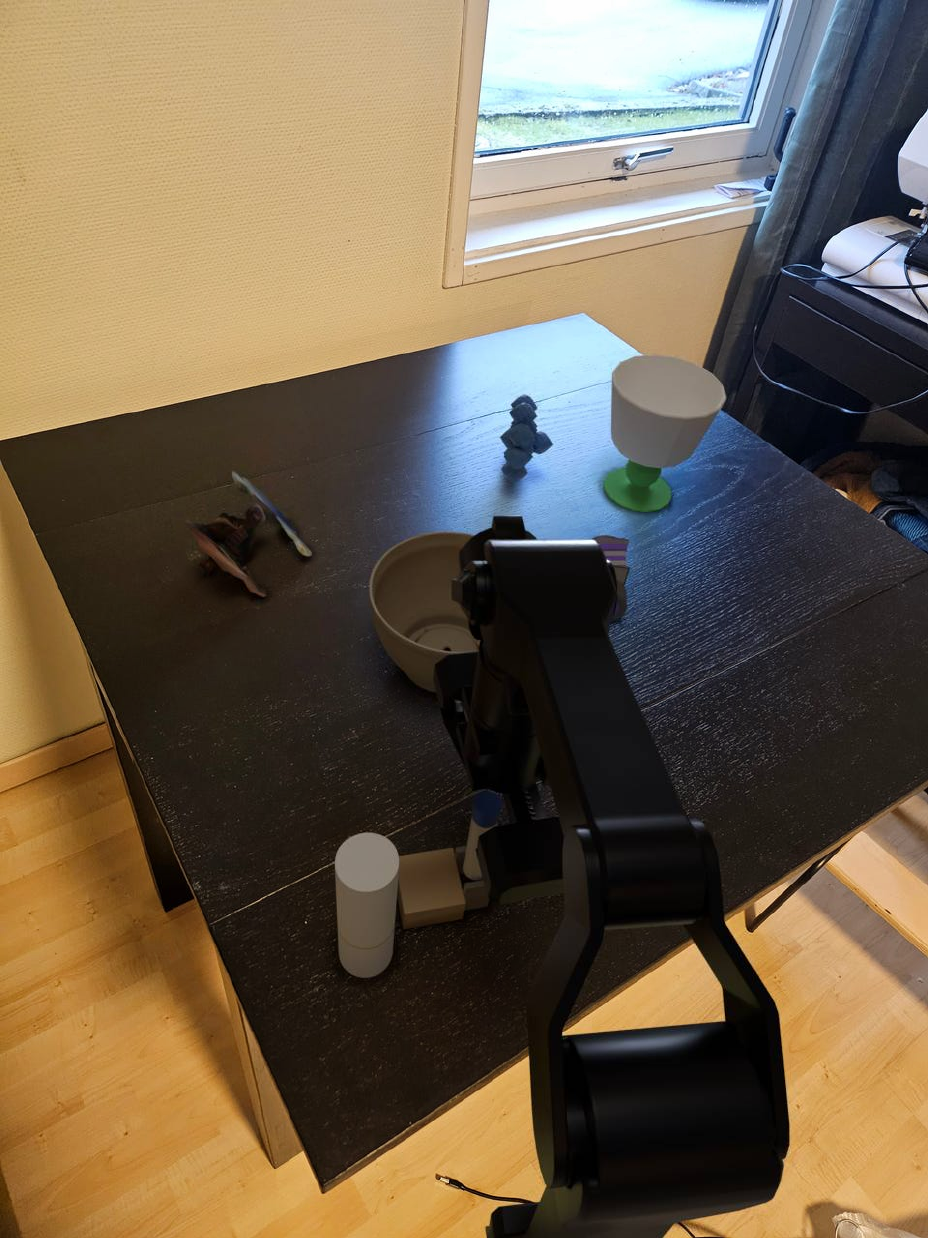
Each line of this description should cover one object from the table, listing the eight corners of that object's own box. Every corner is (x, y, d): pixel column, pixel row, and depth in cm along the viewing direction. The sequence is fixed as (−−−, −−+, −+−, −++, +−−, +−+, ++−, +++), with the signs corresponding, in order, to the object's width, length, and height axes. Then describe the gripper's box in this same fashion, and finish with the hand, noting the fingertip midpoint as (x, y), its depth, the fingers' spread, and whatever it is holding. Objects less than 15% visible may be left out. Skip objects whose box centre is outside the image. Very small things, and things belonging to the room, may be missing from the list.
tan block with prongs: (489, 914, 71) (495, 891, 68) (403, 930, 70) (405, 907, 67) (475, 859, 74) (481, 835, 71) (393, 873, 73) (394, 849, 70)
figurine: (311, 556, 105) (231, 486, 102) (343, 519, 98) (258, 444, 96) (241, 633, 94) (150, 556, 92) (272, 597, 88) (175, 514, 86)
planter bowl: (339, 685, 86) (337, 611, 78) (411, 586, 97) (416, 512, 89) (485, 748, 83) (498, 677, 75) (543, 637, 93) (561, 565, 85)
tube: (368, 989, 66) (369, 904, 55) (327, 954, 68) (321, 865, 57) (403, 946, 69) (412, 857, 58) (363, 914, 70) (364, 821, 59)
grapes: (543, 510, 108) (559, 430, 99) (490, 503, 108) (502, 422, 99) (547, 456, 116) (562, 377, 107) (497, 449, 116) (509, 370, 107)
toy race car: (495, 549, 102) (502, 507, 97) (620, 567, 102) (633, 526, 97) (488, 606, 95) (494, 564, 91) (621, 626, 95) (635, 584, 90)
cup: (672, 458, 118) (706, 354, 106) (702, 524, 109) (743, 418, 97) (575, 458, 116) (599, 352, 104) (598, 525, 107) (627, 417, 95)
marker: (505, 812, 62) (477, 817, 61) (490, 878, 70) (465, 883, 69) (498, 788, 63) (470, 792, 63) (484, 855, 71) (459, 859, 71)
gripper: (692, 811, 49) (630, 924, 61) (590, 583, 61) (554, 713, 73) (506, 841, 47) (478, 953, 58) (438, 598, 59) (426, 730, 70)
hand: (489, 825), depth 65 cm, fingers open, 9 cm apart
